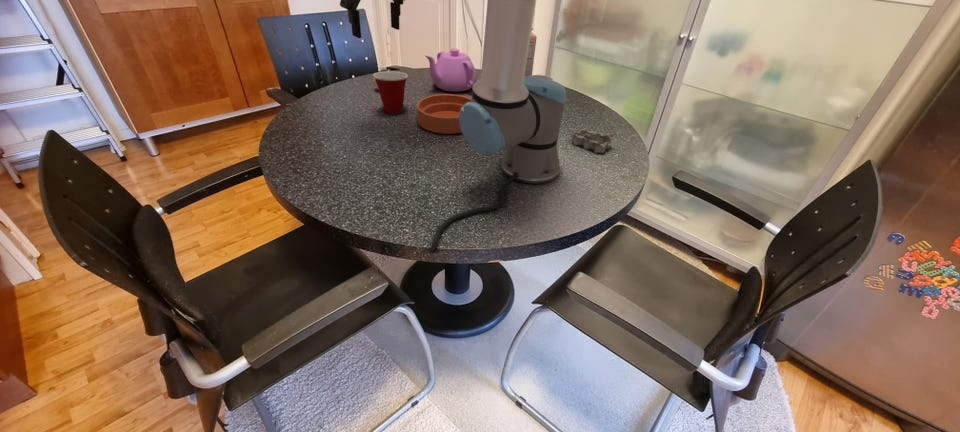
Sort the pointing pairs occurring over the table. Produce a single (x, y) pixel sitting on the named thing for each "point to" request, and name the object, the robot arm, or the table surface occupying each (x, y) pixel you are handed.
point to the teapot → (452, 71)
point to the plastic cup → (391, 90)
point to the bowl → (441, 112)
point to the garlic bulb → (376, 83)
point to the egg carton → (592, 140)
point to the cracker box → (530, 56)
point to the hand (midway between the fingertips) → (376, 32)
